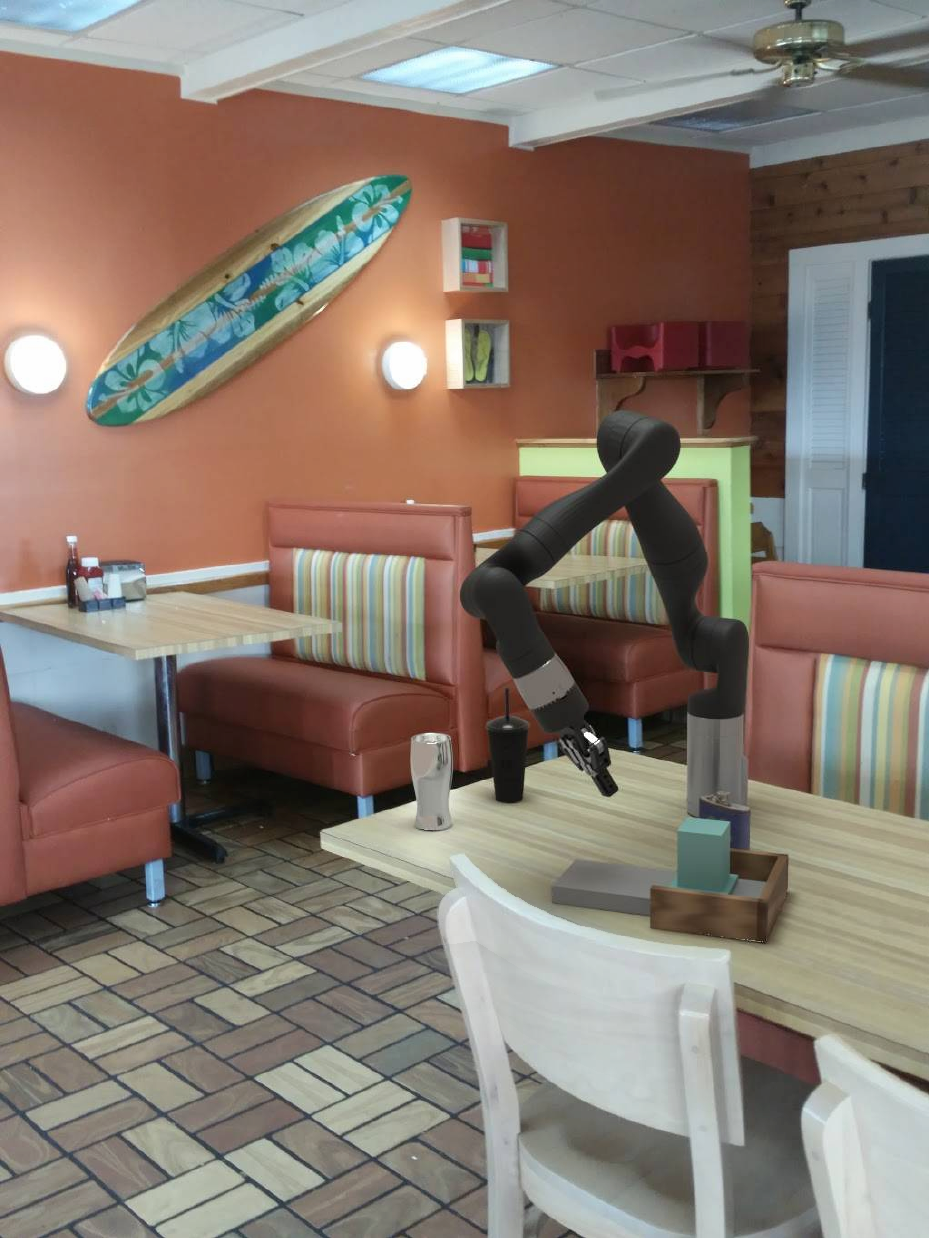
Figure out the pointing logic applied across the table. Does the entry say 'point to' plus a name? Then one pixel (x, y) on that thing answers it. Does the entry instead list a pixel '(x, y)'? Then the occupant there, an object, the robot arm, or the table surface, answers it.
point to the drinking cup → (508, 754)
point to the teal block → (704, 857)
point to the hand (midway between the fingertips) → (611, 793)
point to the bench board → (622, 886)
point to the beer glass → (432, 779)
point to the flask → (728, 817)
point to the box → (726, 901)
